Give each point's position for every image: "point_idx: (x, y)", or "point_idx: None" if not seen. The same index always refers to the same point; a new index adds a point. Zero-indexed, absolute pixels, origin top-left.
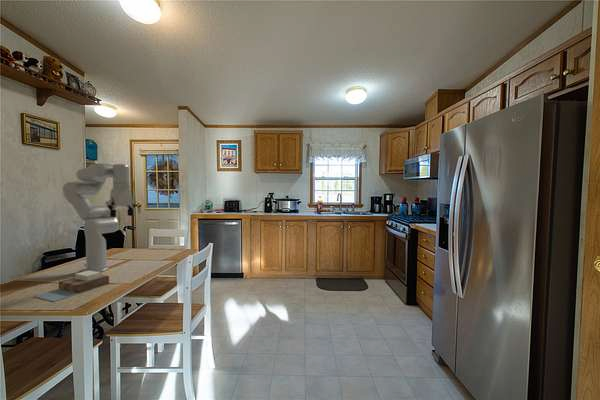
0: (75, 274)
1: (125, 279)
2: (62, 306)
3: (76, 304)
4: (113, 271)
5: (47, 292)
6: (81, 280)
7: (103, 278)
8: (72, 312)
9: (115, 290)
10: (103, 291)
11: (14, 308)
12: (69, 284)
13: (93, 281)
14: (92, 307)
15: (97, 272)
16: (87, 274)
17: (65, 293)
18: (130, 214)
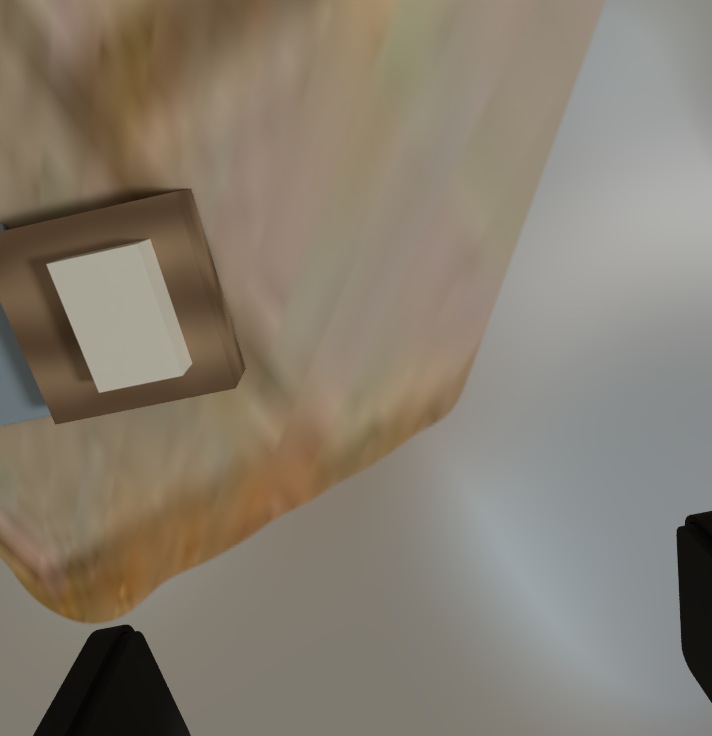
0: (49, 266)
1: (344, 361)
2: (10, 508)
3: (58, 531)
4: (384, 63)
5: None
6: None
7: (201, 393)
8: (36, 598)
9: (231, 498)
10: (186, 464)
11: None
12: (25, 351)
13: (143, 404)
14: (102, 609)
15: (167, 361)
16: (107, 355)
17: None
18: (700, 660)
